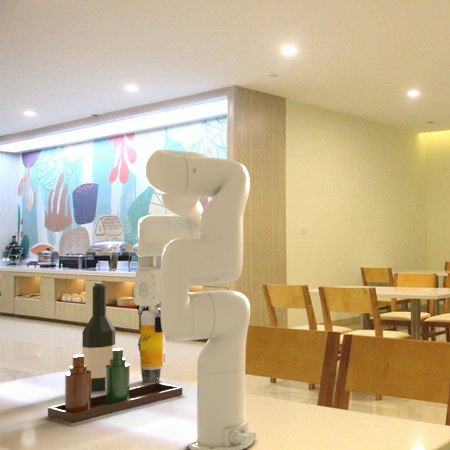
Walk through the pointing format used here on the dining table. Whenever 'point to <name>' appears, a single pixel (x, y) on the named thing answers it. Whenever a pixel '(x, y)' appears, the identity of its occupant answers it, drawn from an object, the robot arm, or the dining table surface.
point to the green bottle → (117, 378)
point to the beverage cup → (149, 372)
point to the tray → (136, 398)
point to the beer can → (151, 343)
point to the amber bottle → (78, 386)
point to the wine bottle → (98, 339)
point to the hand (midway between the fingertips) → (153, 330)
